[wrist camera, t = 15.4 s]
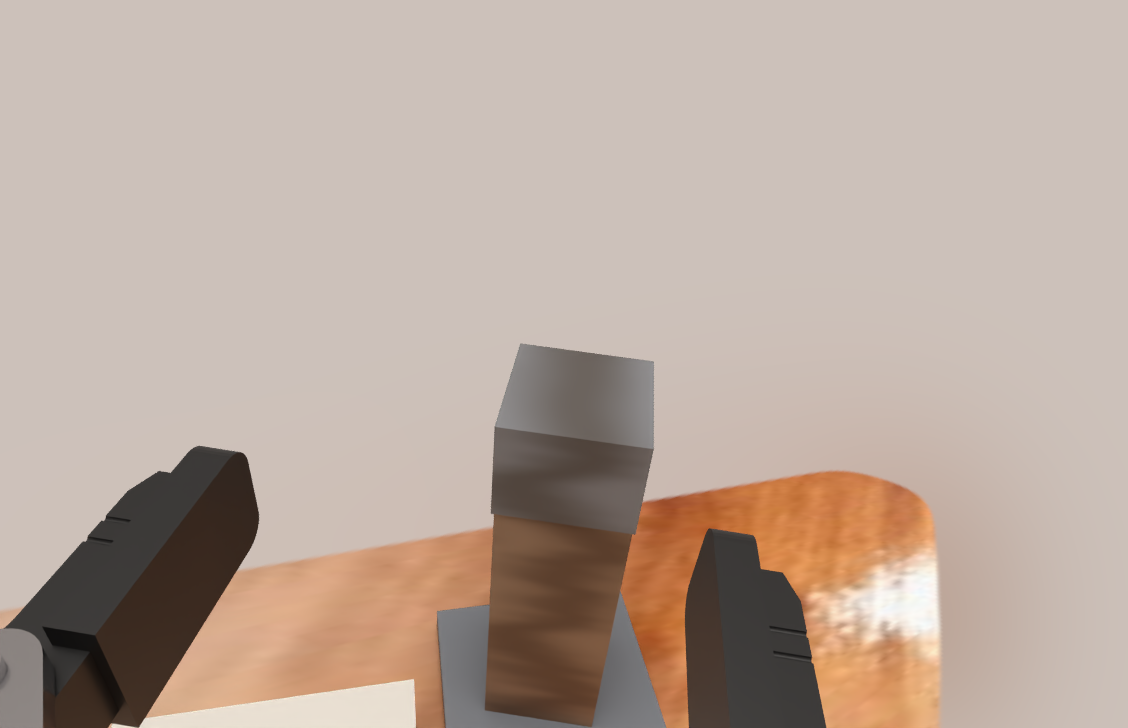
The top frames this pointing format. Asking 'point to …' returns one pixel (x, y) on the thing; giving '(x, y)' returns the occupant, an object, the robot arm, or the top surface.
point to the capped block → (563, 525)
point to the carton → (308, 711)
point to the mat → (620, 720)
